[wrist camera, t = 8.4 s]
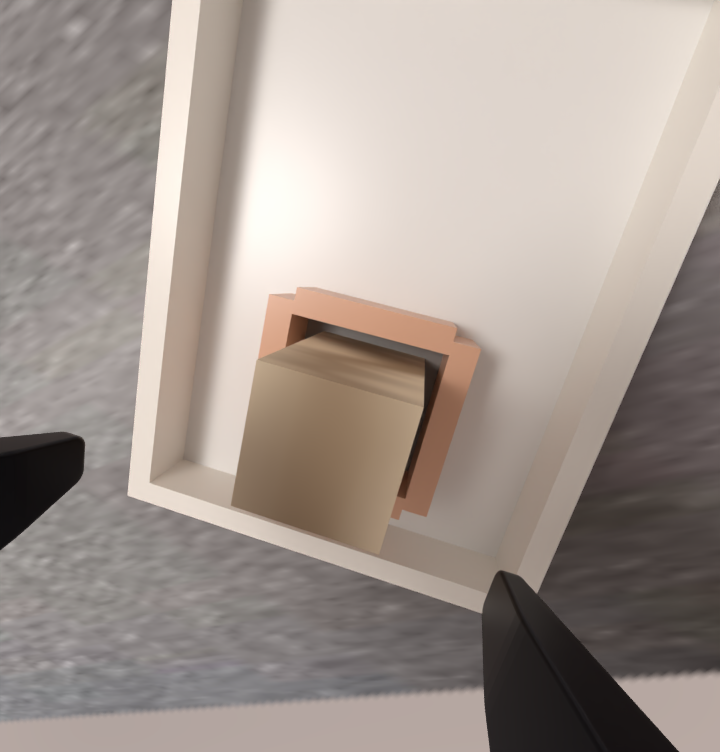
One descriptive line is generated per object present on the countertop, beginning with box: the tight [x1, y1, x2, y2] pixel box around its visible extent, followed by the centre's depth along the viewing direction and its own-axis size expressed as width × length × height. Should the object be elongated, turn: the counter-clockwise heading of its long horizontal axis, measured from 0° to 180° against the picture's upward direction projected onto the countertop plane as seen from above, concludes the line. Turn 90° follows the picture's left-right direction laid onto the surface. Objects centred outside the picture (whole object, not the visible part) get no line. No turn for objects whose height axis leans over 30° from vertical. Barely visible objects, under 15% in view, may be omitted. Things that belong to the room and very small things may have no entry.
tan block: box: [231, 331, 425, 555], centre depth 14 cm, size 4×4×7 cm
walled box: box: [128, 0, 720, 613], centre depth 15 cm, size 18×24×3 cm
